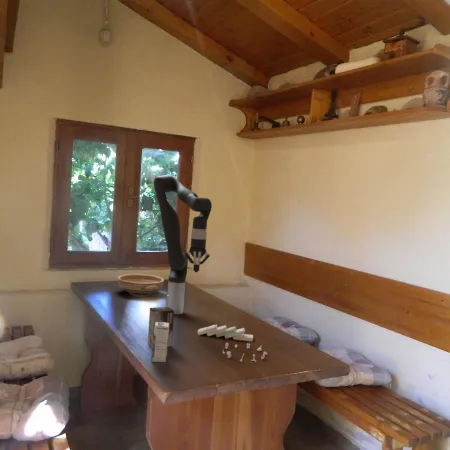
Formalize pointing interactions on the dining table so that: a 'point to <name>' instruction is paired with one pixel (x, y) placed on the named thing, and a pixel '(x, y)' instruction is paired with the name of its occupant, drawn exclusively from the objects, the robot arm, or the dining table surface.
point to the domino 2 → (218, 330)
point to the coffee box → (160, 316)
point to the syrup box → (160, 342)
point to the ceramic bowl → (140, 284)
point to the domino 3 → (227, 331)
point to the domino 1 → (207, 329)
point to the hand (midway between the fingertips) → (196, 272)
